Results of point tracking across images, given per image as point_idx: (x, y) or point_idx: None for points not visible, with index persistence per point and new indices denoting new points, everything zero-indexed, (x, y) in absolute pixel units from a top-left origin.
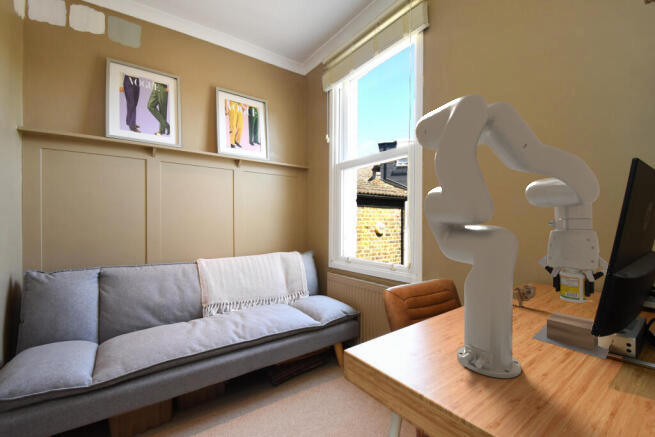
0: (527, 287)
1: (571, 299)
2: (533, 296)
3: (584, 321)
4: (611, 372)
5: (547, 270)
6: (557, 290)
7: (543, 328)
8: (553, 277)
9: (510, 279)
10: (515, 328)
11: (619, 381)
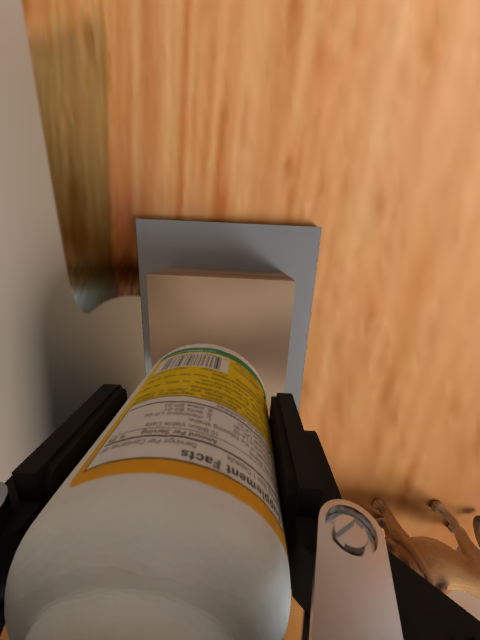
0: None
1: (200, 345)
2: None
3: None
4: (117, 154)
5: (457, 611)
6: (280, 396)
7: (302, 351)
8: (339, 505)
9: None
10: (374, 308)
11: (93, 100)
